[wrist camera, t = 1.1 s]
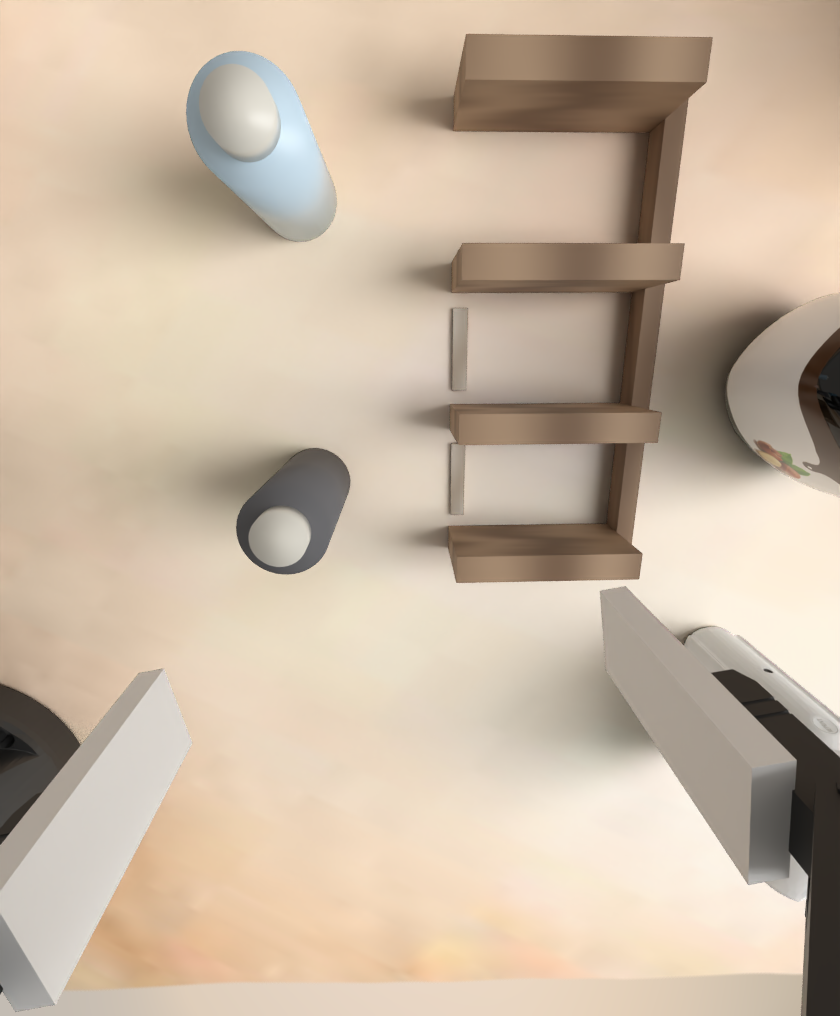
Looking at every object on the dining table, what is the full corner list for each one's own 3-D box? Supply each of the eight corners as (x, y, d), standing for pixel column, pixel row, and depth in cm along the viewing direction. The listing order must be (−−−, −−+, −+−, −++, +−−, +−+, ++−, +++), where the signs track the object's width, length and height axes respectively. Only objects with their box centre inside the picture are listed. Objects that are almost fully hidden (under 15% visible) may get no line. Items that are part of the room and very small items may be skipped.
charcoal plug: (286, 513, 31) (234, 585, 21) (280, 448, 30) (223, 494, 20) (351, 512, 31) (329, 583, 21) (348, 447, 30) (323, 493, 20)
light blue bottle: (262, 241, 26) (183, 178, 17) (254, 153, 25) (164, 31, 16) (338, 241, 27) (302, 179, 17) (334, 153, 25) (293, 33, 16)
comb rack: (448, 559, 32) (456, 595, 27) (454, 76, 25) (466, 10, 20) (618, 556, 32) (655, 591, 28) (675, 79, 25) (740, 14, 20)
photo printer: (680, 623, 34) (828, 767, 22) (742, 623, 34) (920, 765, 23) (658, 747, 37) (777, 930, 25) (714, 746, 37) (859, 927, 26)
